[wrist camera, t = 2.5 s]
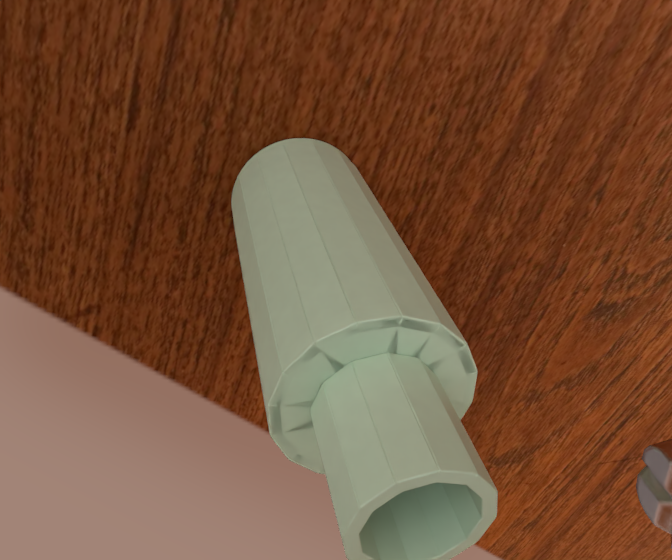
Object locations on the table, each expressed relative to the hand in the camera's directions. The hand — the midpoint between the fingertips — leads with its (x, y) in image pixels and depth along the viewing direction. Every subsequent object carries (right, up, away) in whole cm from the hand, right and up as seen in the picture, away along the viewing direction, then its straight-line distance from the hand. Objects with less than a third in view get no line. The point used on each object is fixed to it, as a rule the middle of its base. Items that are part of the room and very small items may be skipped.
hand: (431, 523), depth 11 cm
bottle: (-3, +7, +10) cm, 13 cm away
